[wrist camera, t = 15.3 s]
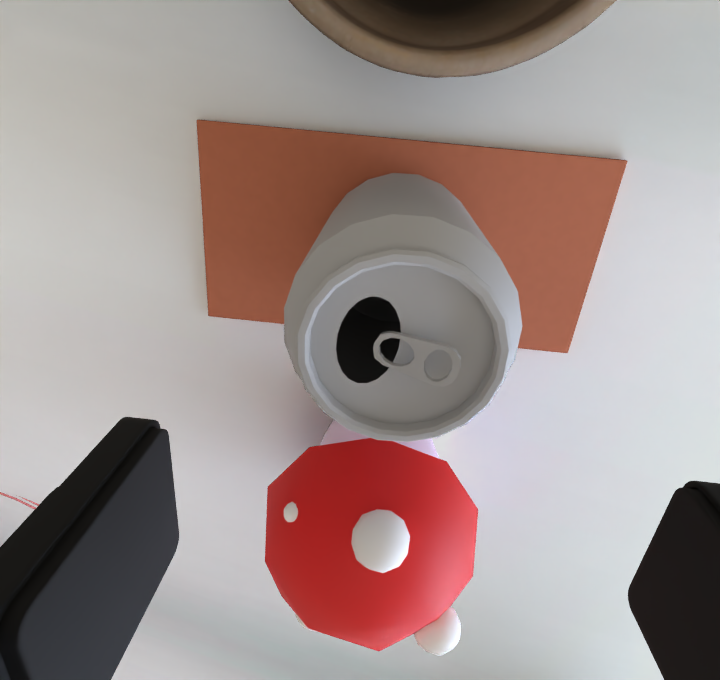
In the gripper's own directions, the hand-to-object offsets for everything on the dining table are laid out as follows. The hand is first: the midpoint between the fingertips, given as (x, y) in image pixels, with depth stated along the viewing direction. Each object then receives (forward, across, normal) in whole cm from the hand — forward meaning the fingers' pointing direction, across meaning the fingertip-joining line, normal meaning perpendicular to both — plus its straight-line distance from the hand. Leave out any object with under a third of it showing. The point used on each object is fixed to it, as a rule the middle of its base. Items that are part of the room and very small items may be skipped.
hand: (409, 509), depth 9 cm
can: (+17, 0, -1) cm, 17 cm away
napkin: (+18, 0, -1) cm, 18 cm away
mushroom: (+18, 0, +12) cm, 22 cm away
